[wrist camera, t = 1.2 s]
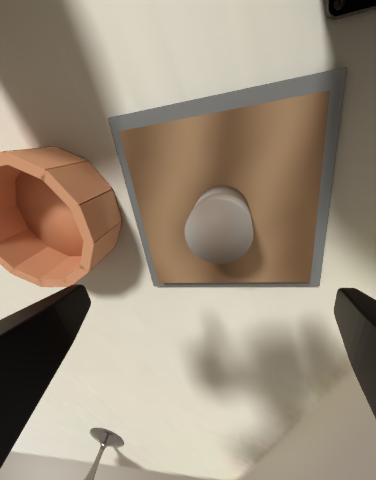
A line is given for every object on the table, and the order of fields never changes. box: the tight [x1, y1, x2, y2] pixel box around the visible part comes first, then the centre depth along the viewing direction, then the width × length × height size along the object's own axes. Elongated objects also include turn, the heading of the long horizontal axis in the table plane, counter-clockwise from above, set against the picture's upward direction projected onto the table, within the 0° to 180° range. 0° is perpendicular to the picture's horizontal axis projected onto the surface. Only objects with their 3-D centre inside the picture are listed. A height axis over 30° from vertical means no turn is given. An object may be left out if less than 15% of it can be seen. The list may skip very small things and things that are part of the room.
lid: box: [119, 90, 330, 283], centre depth 15 cm, size 13×13×5 cm
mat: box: [108, 67, 347, 286], centre depth 17 cm, size 15×15×1 cm
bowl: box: [0, 147, 122, 287], centre depth 18 cm, size 11×11×4 cm
